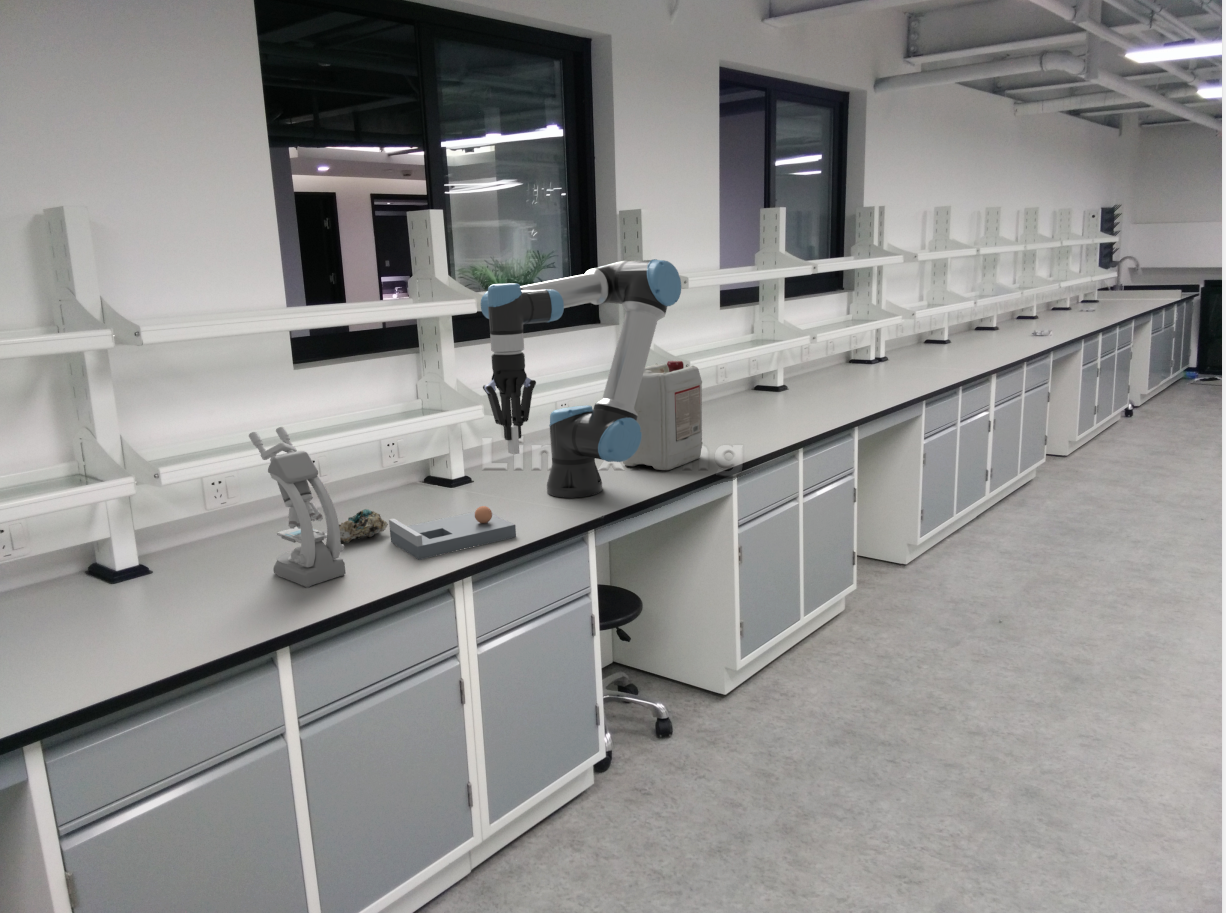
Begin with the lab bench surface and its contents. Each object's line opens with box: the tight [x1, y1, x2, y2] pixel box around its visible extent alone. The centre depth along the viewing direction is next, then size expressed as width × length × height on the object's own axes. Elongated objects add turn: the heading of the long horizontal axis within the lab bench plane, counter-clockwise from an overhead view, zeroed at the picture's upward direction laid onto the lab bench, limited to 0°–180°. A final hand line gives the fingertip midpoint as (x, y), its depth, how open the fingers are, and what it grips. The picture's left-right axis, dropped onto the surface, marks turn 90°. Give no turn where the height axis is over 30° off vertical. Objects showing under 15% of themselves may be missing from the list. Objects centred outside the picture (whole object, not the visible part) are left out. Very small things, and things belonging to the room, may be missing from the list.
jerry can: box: [622, 360, 703, 471], centre depth 271 cm, size 24×19×30 cm
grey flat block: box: [388, 511, 517, 561], centre depth 207 cm, size 24×16×5 cm, turn 125°
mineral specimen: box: [339, 508, 389, 544], centre depth 210 cm, size 12×9×8 cm
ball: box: [474, 505, 493, 523], centre depth 209 cm, size 4×4×4 cm
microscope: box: [248, 426, 346, 588], centre depth 185 cm, size 11×19×30 cm, turn 49°
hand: (513, 453), depth 210 cm, fingers closed
